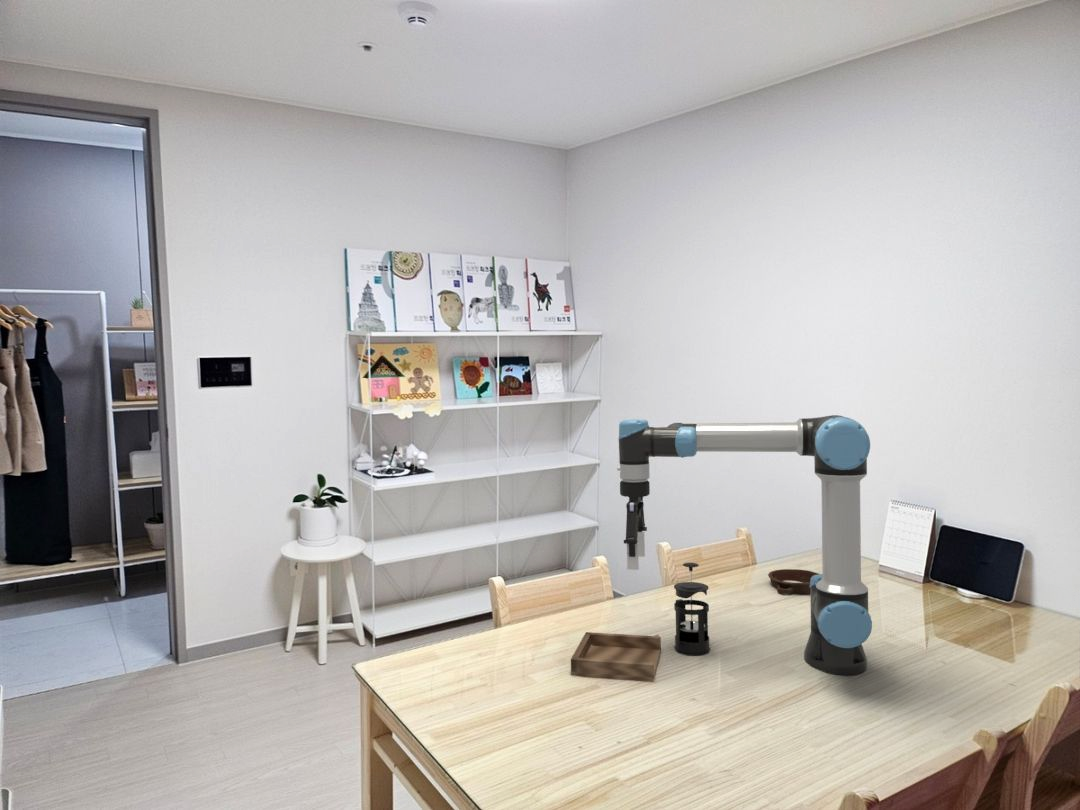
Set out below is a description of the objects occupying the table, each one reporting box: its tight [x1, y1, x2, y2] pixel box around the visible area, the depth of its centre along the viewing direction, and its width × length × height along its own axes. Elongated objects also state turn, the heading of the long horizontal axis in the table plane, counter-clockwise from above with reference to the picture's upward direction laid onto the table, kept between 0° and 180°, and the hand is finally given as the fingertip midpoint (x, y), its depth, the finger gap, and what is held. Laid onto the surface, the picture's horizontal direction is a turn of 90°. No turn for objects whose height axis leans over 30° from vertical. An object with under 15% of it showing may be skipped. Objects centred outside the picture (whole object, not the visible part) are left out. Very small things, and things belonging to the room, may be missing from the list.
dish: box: [767, 568, 819, 595], centre depth 251 cm, size 18×22×5 cm
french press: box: [673, 562, 711, 657], centre depth 199 cm, size 12×9×23 cm
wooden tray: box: [570, 631, 662, 683], centre depth 191 cm, size 20×20×4 cm
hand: (636, 562), depth 192 cm, fingers open, 13 cm apart
